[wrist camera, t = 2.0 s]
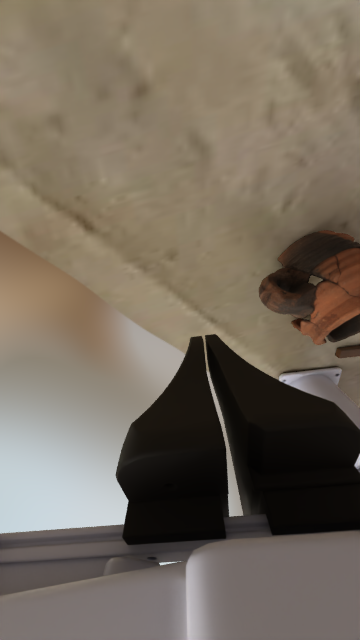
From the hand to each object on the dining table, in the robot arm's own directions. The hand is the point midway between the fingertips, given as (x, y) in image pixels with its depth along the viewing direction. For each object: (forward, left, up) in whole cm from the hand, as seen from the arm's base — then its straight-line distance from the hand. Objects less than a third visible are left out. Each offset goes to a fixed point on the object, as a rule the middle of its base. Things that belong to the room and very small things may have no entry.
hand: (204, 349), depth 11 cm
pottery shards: (0, -12, -10) cm, 15 cm away
